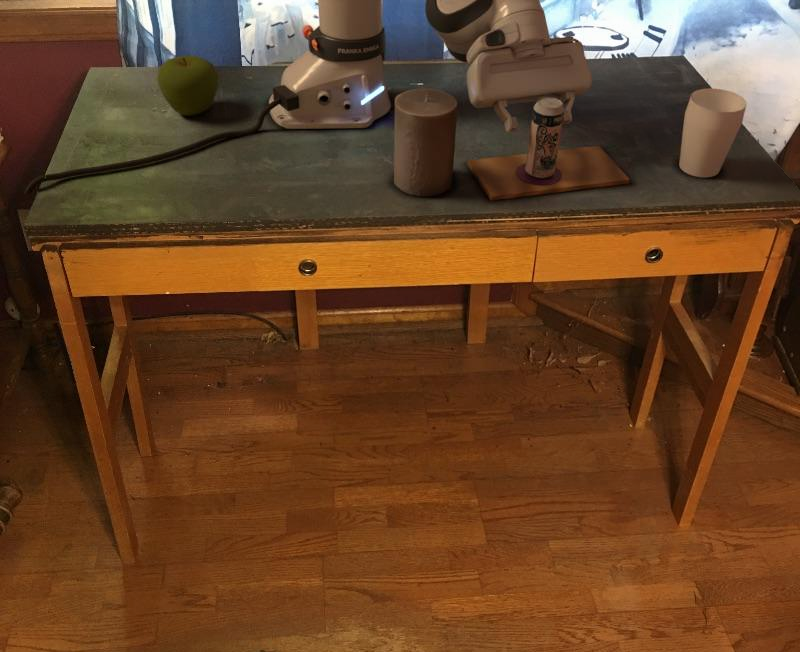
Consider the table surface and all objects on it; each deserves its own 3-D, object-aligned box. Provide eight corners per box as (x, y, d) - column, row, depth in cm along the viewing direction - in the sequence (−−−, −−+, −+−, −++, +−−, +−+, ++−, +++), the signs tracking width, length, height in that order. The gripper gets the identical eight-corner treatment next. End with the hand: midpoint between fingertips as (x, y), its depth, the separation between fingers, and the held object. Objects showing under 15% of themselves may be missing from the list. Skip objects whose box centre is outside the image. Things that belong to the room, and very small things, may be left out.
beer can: (535, 182, 139) (545, 111, 131) (519, 169, 142) (528, 99, 134) (560, 176, 141) (571, 105, 132) (543, 163, 144) (553, 93, 135)
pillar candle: (456, 171, 143) (463, 83, 132) (446, 201, 136) (452, 110, 126) (399, 164, 144) (401, 76, 134) (387, 193, 137) (388, 103, 127)
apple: (196, 130, 152) (187, 75, 145) (150, 116, 155) (140, 61, 148) (234, 107, 159) (227, 53, 152) (189, 94, 162) (181, 41, 155)
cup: (728, 184, 141) (750, 115, 133) (672, 178, 143) (690, 109, 134) (724, 158, 148) (745, 91, 140) (671, 152, 149) (688, 85, 141)
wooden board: (490, 200, 136) (491, 195, 136) (467, 164, 145) (467, 159, 144) (628, 183, 141) (629, 178, 140) (598, 149, 149) (599, 144, 149)
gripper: (571, 43, 142) (589, 125, 142) (456, 56, 137) (474, 141, 137) (588, 25, 136) (607, 111, 136) (469, 38, 131) (487, 127, 131)
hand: (539, 126), depth 136 cm, fingers open, 8 cm apart
